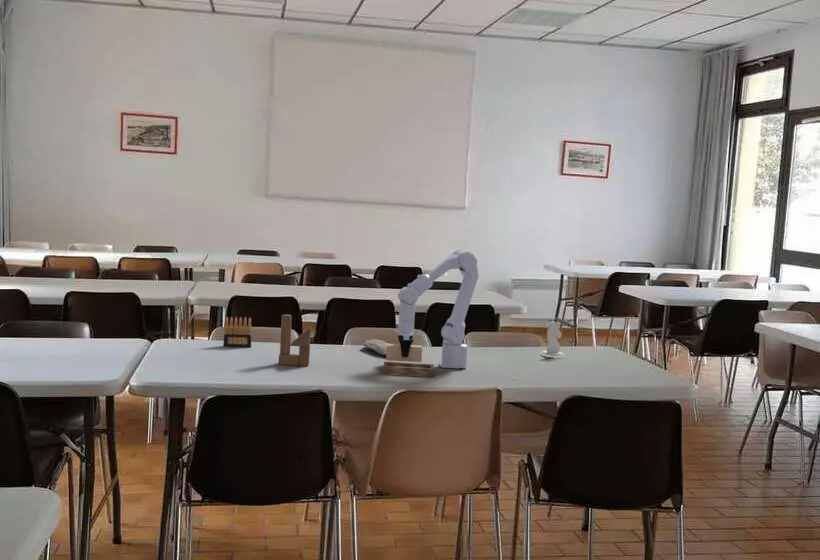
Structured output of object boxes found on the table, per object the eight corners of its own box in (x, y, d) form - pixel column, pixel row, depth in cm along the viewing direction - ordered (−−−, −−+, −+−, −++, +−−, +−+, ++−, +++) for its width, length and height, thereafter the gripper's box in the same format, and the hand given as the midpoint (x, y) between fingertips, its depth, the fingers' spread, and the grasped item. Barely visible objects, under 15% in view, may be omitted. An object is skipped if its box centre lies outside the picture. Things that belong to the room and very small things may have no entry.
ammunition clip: (223, 346, 316) (224, 316, 315) (223, 345, 318) (224, 315, 317) (251, 347, 318) (252, 317, 317) (251, 346, 320) (252, 316, 319)
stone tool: (384, 335, 338) (406, 346, 315) (383, 347, 338) (405, 359, 315) (358, 335, 334) (378, 346, 311) (357, 347, 334) (378, 359, 311)
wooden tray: (432, 371, 295) (433, 364, 295) (434, 377, 287) (434, 369, 287) (383, 369, 294) (384, 361, 294) (383, 374, 286) (384, 366, 286)
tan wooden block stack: (308, 366, 291) (310, 317, 289) (278, 365, 290) (280, 315, 288) (309, 364, 294) (311, 315, 293) (279, 362, 294) (281, 313, 292)
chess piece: (569, 357, 340) (572, 322, 338) (553, 359, 334) (556, 323, 332) (551, 353, 348) (554, 318, 346) (535, 355, 341) (538, 319, 340)
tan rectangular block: (420, 359, 303) (421, 345, 302) (421, 362, 299) (422, 347, 298) (386, 358, 303) (387, 343, 302) (386, 360, 299) (387, 345, 298)
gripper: (395, 316, 306) (393, 351, 308) (396, 322, 292) (394, 359, 293) (414, 317, 307) (412, 352, 308) (415, 323, 292) (413, 360, 294)
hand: (404, 355), depth 301 cm, fingers closed on tan rectangular block, 4 cm apart
